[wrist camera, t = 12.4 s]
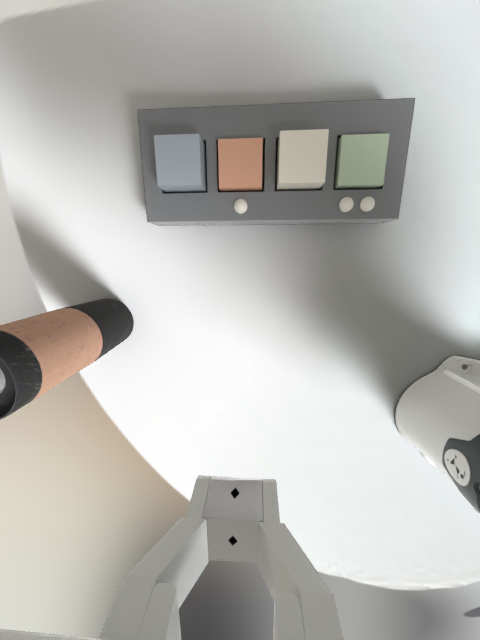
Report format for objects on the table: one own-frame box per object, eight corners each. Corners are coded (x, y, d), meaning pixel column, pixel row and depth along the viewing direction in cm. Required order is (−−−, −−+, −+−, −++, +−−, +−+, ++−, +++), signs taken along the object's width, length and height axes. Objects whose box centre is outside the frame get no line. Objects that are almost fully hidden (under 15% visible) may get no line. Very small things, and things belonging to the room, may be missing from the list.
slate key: (206, 149, 31) (199, 133, 27) (207, 193, 32) (201, 185, 28) (166, 150, 31) (153, 135, 27) (169, 194, 32) (157, 185, 28)
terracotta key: (262, 152, 32) (262, 137, 28) (261, 195, 33) (261, 187, 29) (222, 153, 32) (217, 139, 28) (223, 196, 33) (219, 188, 29)
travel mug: (141, 338, 40) (33, 416, 21) (98, 347, 41) (-45, 430, 21) (126, 291, 38) (-8, 328, 19) (81, 302, 39) (-92, 347, 20)
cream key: (319, 145, 30) (328, 128, 26) (316, 191, 31) (325, 182, 27) (277, 146, 30) (280, 130, 26) (275, 192, 31) (278, 183, 28)
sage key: (373, 148, 31) (389, 133, 27) (368, 193, 32) (383, 184, 28) (331, 150, 31) (342, 135, 27) (328, 194, 32) (337, 185, 29)
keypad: (395, 117, 31) (417, 96, 26) (381, 222, 34) (399, 218, 29) (151, 127, 33) (136, 108, 28) (159, 225, 35) (146, 221, 31)
